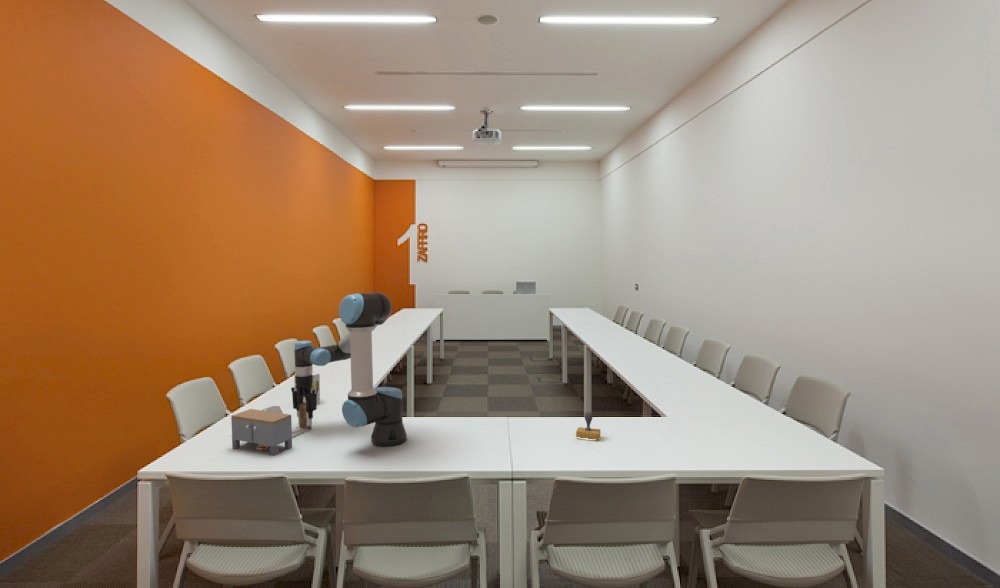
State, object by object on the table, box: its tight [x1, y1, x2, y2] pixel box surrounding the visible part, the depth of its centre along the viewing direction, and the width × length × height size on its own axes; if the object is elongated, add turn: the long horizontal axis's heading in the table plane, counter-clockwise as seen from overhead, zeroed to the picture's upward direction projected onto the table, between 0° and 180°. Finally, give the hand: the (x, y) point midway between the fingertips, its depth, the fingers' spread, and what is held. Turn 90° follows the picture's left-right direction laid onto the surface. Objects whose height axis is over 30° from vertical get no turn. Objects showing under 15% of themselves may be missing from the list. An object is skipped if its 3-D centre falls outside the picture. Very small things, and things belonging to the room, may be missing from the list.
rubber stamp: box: [575, 411, 601, 441], centre depth 232 cm, size 10×6×12 cm, turn 72°
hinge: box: [261, 405, 284, 414], centre depth 247 cm, size 17×5×10 cm, turn 171°
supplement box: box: [293, 372, 321, 405], centre depth 281 cm, size 10×9×17 cm
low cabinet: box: [230, 408, 293, 457], centre depth 218 cm, size 22×11×14 cm, turn 69°
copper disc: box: [255, 444, 269, 451], centre depth 219 cm, size 4×4×1 cm
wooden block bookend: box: [281, 402, 312, 444], centre depth 234 cm, size 6×20×12 cm, turn 159°
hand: (305, 424), depth 243 cm, fingers closed on wooden block bookend, 4 cm apart
